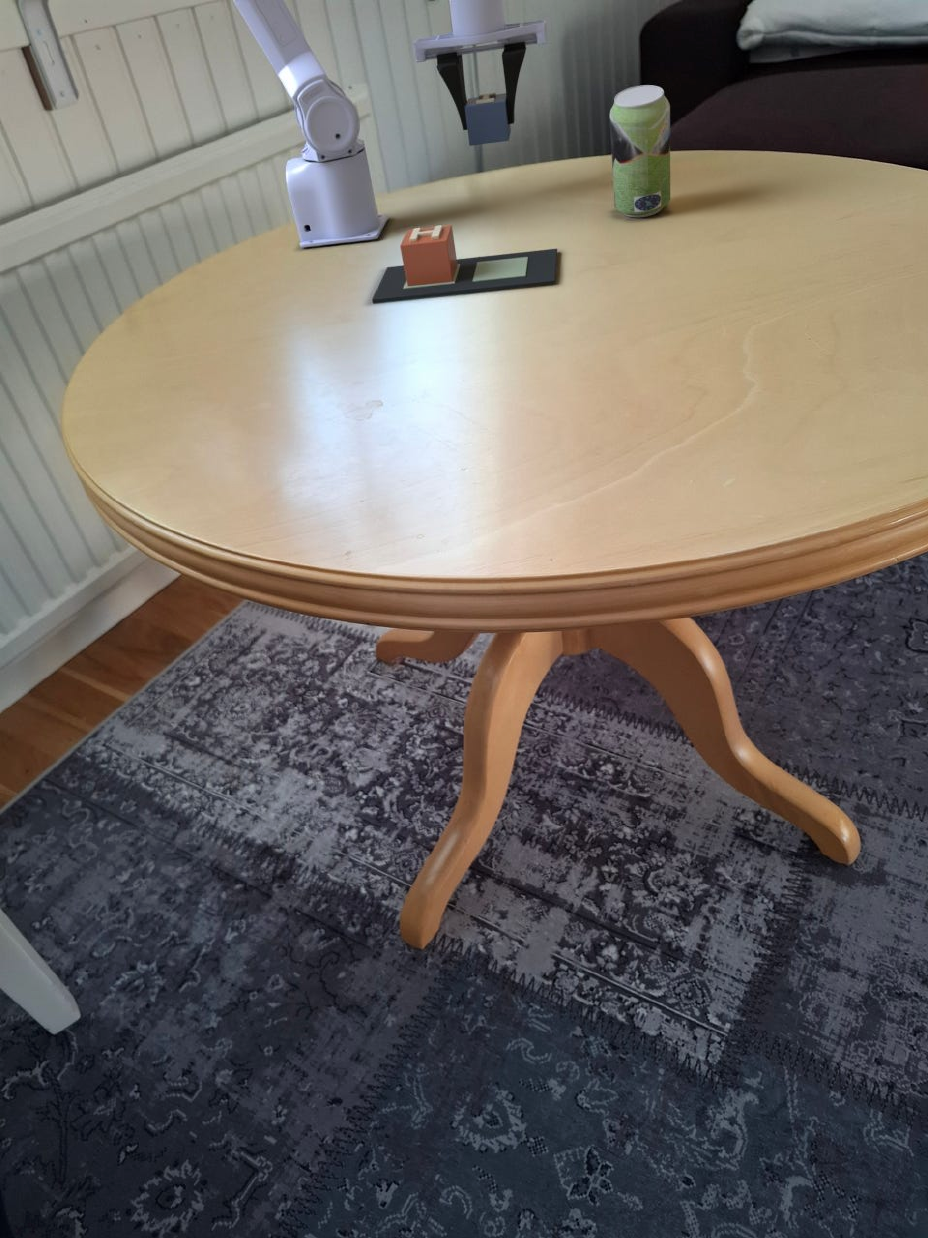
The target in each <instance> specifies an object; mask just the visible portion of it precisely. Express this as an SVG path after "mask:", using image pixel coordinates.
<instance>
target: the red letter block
mask: <svg viewBox="0 0 928 1238" xmlns="http://www.w3.org/2000/svg"><path fill="white" fill-rule="evenodd" d="M456 250H457V249H456V245H455V238H454V230H453V225H452V224H450V225H449V224H448V225H441V224H440V225H435V226H431V227H424V228H421V227H415V228H413V229H408V230H406V233H405V234H404V236H403V239H402V241H401V243H400V252H401V258H402V264H403V265H404V269H405V275H406V280H407V286H416V285H426V284H435V283H445V282H453V279H454V275H455V272H456V269H457V265H458V264H457V259H458V257H457V251H456Z"/></svg>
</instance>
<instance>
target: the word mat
mask: <svg viewBox="0 0 928 1238" xmlns="http://www.w3.org/2000/svg"><path fill="white" fill-rule="evenodd" d="M557 255H558V248H549V249H540V250H531V251H530V250H529V251H522V252H511V253H504V254H503V253H502V254H494V255H486V256H475V257H466V258H457V264H458V265H457V269H456V272H455V275H454V279H453V282H445V283H435V284H426V285H416V286H407V280H406V275H405V269H404V264H403V265H394V266H387V267H386V269H385V271H384V273H383V275H382V277H381V280H380V282H379V284H378V286H377V288H376V290H375V293H373V297H372V299H371V302H372V304H379V303H380V304H381V303H388V302H389V303H390V302H400V301H408V300H409V301H410V300H419V299H429V298H437V297H448V296H458V295H467V294H477V293H486V292H498V291H507V290H515V289H516V290H517V289H525V288H526V289H527V288H536V287H546V286H554V285H556V275H557V274H556V273H557V259H558V256H557Z"/></svg>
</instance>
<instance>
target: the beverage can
mask: <svg viewBox="0 0 928 1238" xmlns="http://www.w3.org/2000/svg"><path fill="white" fill-rule="evenodd" d="M613 101H614V102H613V104H612V106H611V108H610V110H609V115H608V116H609V134H610V150H611V151H610V152H611V169H612V170H611V171H612V172H611V173H612V189H613V204H614V205H613V206H614V208H615V209H616V210H617V211H618V212H619V213H621V214H623V215H624V216H626V217H630V218H640V219H641V218H647V217H651V216H653V215H656V214H657V213H659V212H661V211H662V209H663V208H665V207H666V206H667V205H669V203H670V201H671V103H670V102H669V100H668V99H667V97H666V96H665V91H664V89H663V88H662V87H661V86H657V85H651V84H644V85H635V86H631V87H628V88H626V89H623V90H621V91H620V92H618V93H617V94H616V95H615V96H614V99H613Z"/></svg>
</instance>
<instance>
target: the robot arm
mask: <svg viewBox="0 0 928 1238" xmlns="http://www.w3.org/2000/svg"><path fill="white" fill-rule="evenodd" d="M232 2H233V3H234V5H235V7H236V8H237V10H238V12H239V14H240V15H241V17H242V18H243V20H244V21H245V23H246V25H247V26H248V28H249V30H250V32H251V33H252V35H253V37H254V38H255V40H256V42H257V43H258V45H259V47H260V48H261V50H262V51H263V53H264V55H265V57H266V58H267V60H268V61H269V63H270V65H271V67H272V68H273V69H274V71H275V73H276V75H277V77H278V79H279V81H280V82H281V83H282V85H283V87H284V88H285V90H286V92H287V94H288V96H289V97H290V99H291V100H292V102H293V108H294V113H295V118H296V122H297V124H298V126H299V127H300V129H301V132H302V135H303V137H304V140H305V145H304V148H303V149H302V150H301V156H299V157H295V158H294V157H293V158H289V160H288V161H287V163H286V166H285V181H286V187H287V188H286V189H287V192H288V196H289V197H288V198H289V201H290V204H291V208H292V212H293V217H294V221H295V225H296V229H297V233H298V236H299V241H300V242H299V247H300V248H302V249H303V248H310V247H312V248H313V247H320V246H327V245H336V244H337V245H339V244H346V243H347V244H348V243H355V242H363V241H372V240H373V241H374V240H376V239H378V238H379V236H380V234H381V232H382V230H383V229H384V227H385V225H386V223H387V221H388V219H389V215H388V214H387V213H386V214H379V213H378V212H379V211H378V206H377V201H376V195H375V190H374V185H373V180H372V175H371V170H370V164H369V160H368V155H367V150H366V145H365V141H364V140H363V139H360V138H359V135H360V129H361V120H360V115H359V111H358V110H357V108H356V106H355V104H354V103H353V101H352V100H351V99H350V98H349V97H348V96H347V94H346V93H345V91H344V90H343V89H342V87H340V86H339V84H337V83H336V82H334V81H332V80H331V78H329V77H328V75H327V73H326V72H325V70H324V68H323V67H322V65H321V63H320V62H319V60H318V58H317V56H316V55H315V53H314V52H313V50H312V48H311V46H310V44H309V43H308V40H307V39H306V38H305V36H304V34H303V32H302V30H301V29H300V27H299V26H298V25H299V24H298V23H297V21H296V19H295V18H294V17H293V14H292V13H291V11H290V10H289V8H288V6H287V4H286V1H284V0H232ZM448 3H449V12H450V19H451V27H452V32H449V33H445V34H440V35H434V36H430V37H424V38H418V39H415V40H414V41H413V49H414V50H413V51H414V57H415V62H416V63H423V62H426V61H430V60H435V59H436V70H437V72H438V74H439V77H440V78H441V79H442V81H443V82H444V84H445V86H446V88H447V90H448V91H449V94H450V96H451V97H452V100H453V102H454V105H455V107H456V110H457V113H458V116H459V118H460V122H461V125H462V130H463V131H467V122H466V114H465V105H466V103H467V101H468V98H467V93H466V82H465V73H464V62H463V61H464V60H463V58H464V57H463V55H464V56H465V55H470V54H475V53H476V54H477V53H483V52H490V51H496V50H502V53H501V59H502V61H501V62H502V67H503V77H504V86H505V93H506V108H507V118H508V124H510V125H513V124H515V121H516V120H515V118H516V117H515V111H516V109H515V108H516V96H517V89H518V84H519V79H520V73H521V70H522V66H523V62H524V59H525V56H526V53H527V52H526V51H527V46H530V45H545V44H547V43H548V31H547V20H546V19H543V20H536V21H528V22H527V21H526V22H516V23H506V20H505V9H504V0H448ZM492 42H497V43H492ZM487 43H490V44H487ZM482 44H483V45H482ZM466 46H467V47H466ZM468 46H471V47H468Z"/></svg>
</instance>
